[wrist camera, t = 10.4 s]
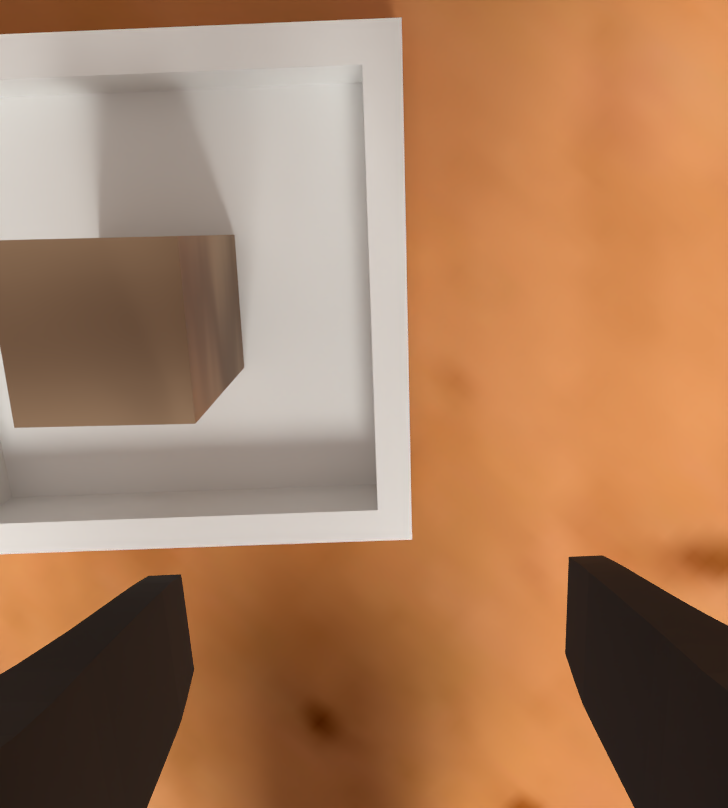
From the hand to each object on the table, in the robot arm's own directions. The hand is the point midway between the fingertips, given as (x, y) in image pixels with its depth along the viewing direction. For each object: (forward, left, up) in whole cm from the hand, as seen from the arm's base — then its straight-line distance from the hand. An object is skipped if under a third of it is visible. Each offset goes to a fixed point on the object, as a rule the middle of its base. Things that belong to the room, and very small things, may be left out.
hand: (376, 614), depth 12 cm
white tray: (+5, +6, -10) cm, 12 cm away
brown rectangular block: (+5, +6, -9) cm, 12 cm away
